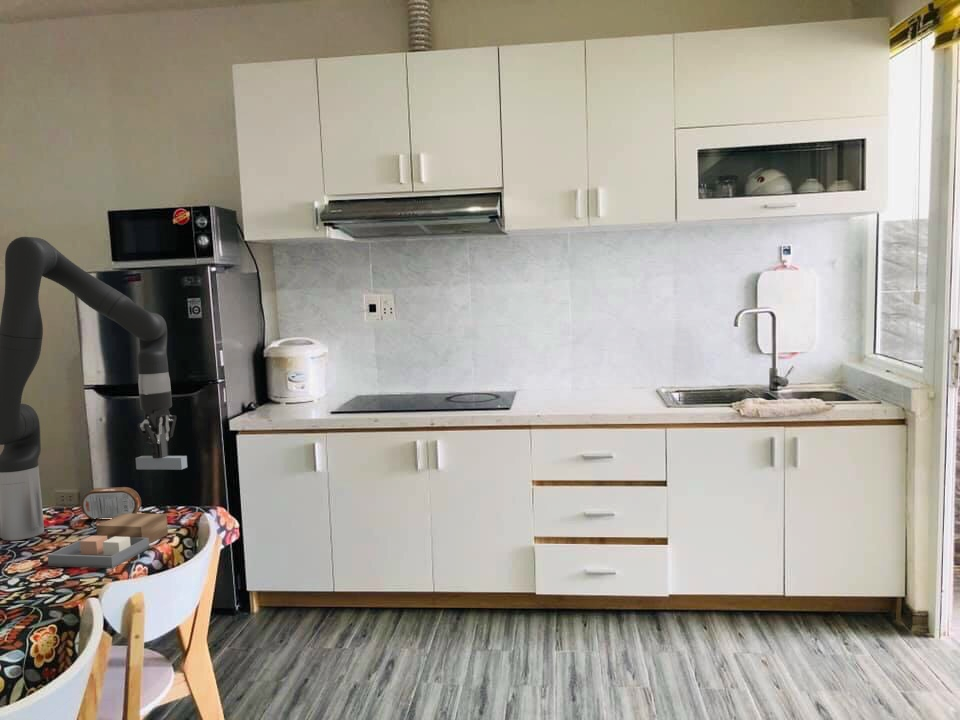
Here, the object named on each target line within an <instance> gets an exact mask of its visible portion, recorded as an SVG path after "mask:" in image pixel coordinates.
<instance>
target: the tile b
mask: <svg viewBox="0 0 960 720" xmlns="http://www.w3.org/2000/svg"><path fill="white" fill-rule="evenodd" d="M129 546H131V544H130V537H118V536H114V537H112V538H110V539H108V540H106V541H104V542H103V551H104V555H114V554H116V553H118V552H120V551H122V550H124V549H126V548H128V547H129Z"/></svg>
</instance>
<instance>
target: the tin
mask: <svg viewBox="0 0 960 720" xmlns="http://www.w3.org/2000/svg"><path fill="white" fill-rule="evenodd" d="M141 507H142V499H141V497H140V495H139V493H138V492H137V491H136V490H134V488H131V487H128V486H127V487H126V486H121V487H96V488H92V489H90V490H89V491H88V492H87V493H86V494H85V495H84V496H83V497H82V500H81V510H82V512H83V514H84V515H85V517H87V518H89V519H90V518H91V520H93V519H94V518H114V517H116V516H119V515H121V514H123V513H134V514H138V513H139V511H140V509H141Z"/></svg>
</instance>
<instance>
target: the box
mask: <svg viewBox="0 0 960 720" xmlns="http://www.w3.org/2000/svg"><path fill="white" fill-rule="evenodd" d="M90 536H91V535H88V536H85V537H84V538H82V539H79V540H77V541H75V542H72V543H70V544H68V545H66V546H64V547H61V548H60V549H58V550H55V551H53V552H51V553H49V554H47V565H48V567H64V568H68V567H69V568H92V569H95V568H96V569H114V568H116V567H118V566H120V565H122V564H123V563H125V562H126V561H128V560H130V559H132V558H134V557H136V556H138V555H139V554H142V553H143V552H145V551H147V550H149V549H150V544H149V538H140V537H130V544H131V546H129V547H128V548H126V549H124V550H122V551H120V552H118V553H116V554H114V555H104V551H102V552H100V553H99V554H81V546H80V541H82V540H84V539H86V538H88V537H90ZM110 538H112V537H107V539H110ZM117 565H118V566H117ZM115 566H116V567H115ZM113 567H114V568H113Z"/></svg>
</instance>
